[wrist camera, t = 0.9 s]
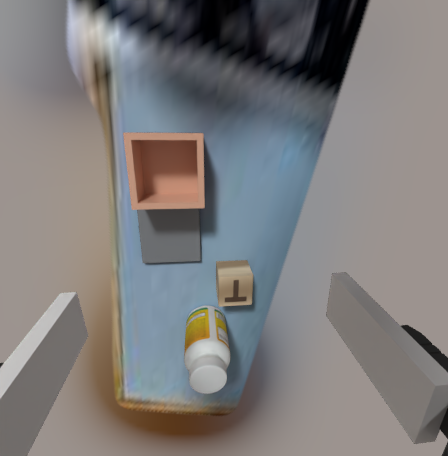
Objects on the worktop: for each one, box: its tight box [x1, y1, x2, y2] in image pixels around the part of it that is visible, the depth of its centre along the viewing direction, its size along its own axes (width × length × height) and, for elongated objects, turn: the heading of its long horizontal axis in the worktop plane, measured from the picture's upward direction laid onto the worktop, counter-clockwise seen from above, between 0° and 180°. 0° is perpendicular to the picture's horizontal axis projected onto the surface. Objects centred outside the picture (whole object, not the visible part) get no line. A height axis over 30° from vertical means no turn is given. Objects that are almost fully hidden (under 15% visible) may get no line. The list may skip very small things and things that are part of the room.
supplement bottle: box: [184, 306, 230, 394], centre depth 33 cm, size 5×5×10 cm
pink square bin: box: [123, 133, 205, 210], centre depth 27 cm, size 7×7×5 cm
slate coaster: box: [137, 208, 201, 263], centre depth 32 cm, size 7×7×1 cm
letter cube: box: [216, 260, 253, 306], centre depth 33 cm, size 4×4×4 cm
